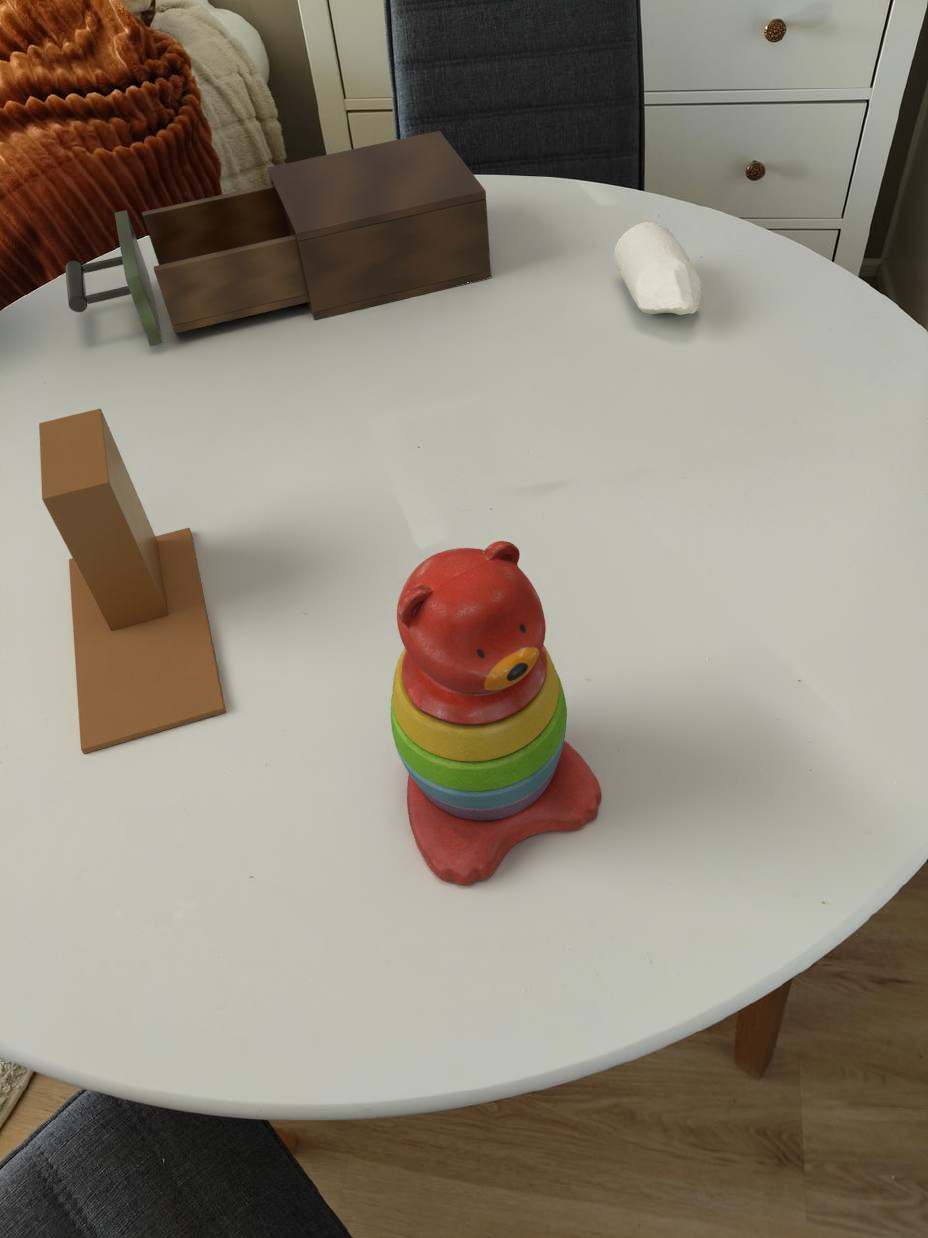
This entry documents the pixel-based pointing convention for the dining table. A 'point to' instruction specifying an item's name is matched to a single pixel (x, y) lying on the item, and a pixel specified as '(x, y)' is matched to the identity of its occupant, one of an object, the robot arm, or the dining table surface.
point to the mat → (146, 657)
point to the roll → (657, 270)
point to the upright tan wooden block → (101, 518)
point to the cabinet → (385, 222)
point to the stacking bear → (481, 715)
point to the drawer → (205, 262)
